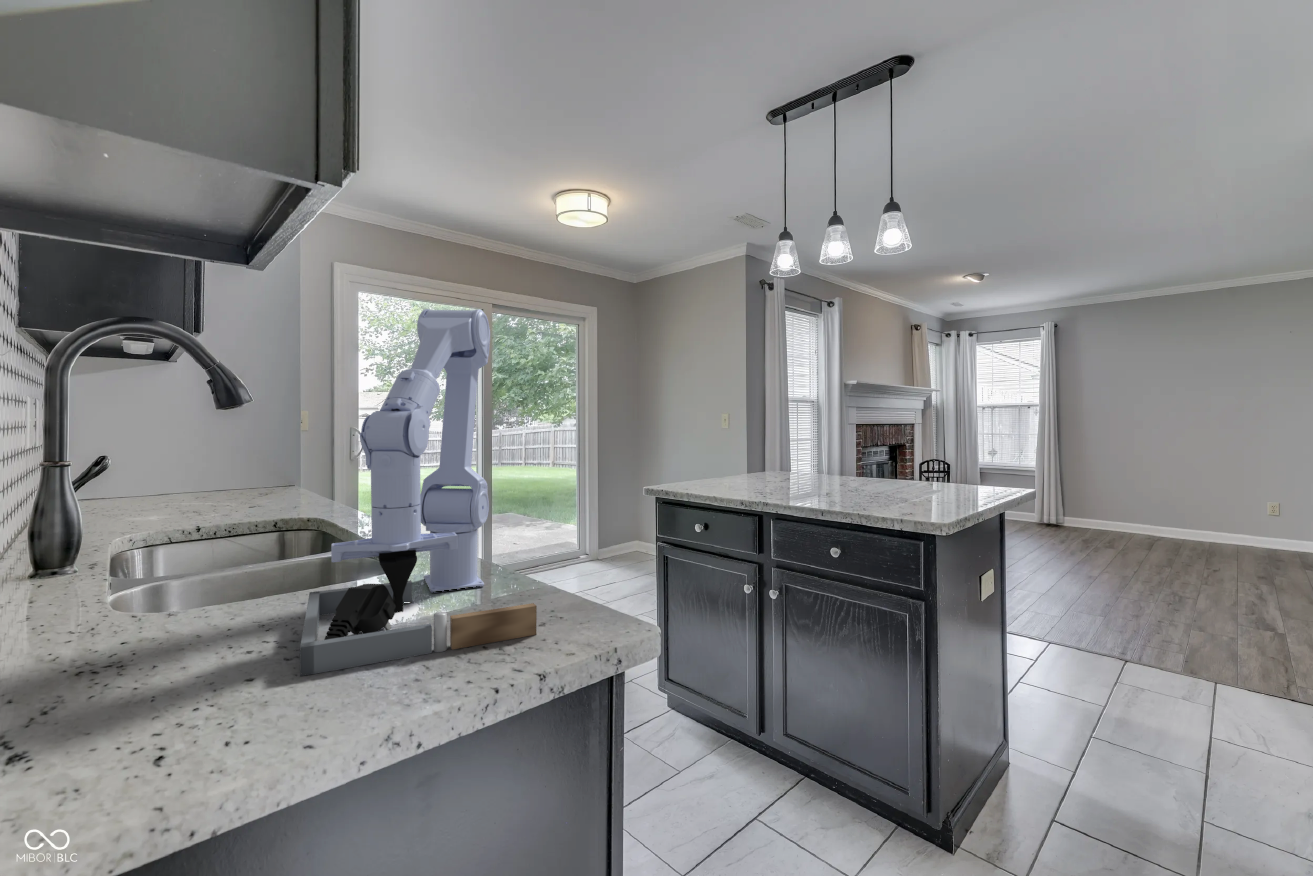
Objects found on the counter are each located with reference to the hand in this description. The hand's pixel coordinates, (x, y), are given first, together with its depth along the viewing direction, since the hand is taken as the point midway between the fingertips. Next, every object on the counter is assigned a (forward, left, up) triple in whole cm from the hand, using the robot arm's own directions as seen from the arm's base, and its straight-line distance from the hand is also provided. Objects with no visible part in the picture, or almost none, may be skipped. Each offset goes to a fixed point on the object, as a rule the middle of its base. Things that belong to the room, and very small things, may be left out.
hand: (397, 610), depth 73 cm
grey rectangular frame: (0, -3, -2) cm, 4 cm away
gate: (+10, +10, -2) cm, 15 cm away
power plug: (+5, -5, -2) cm, 7 cm away
